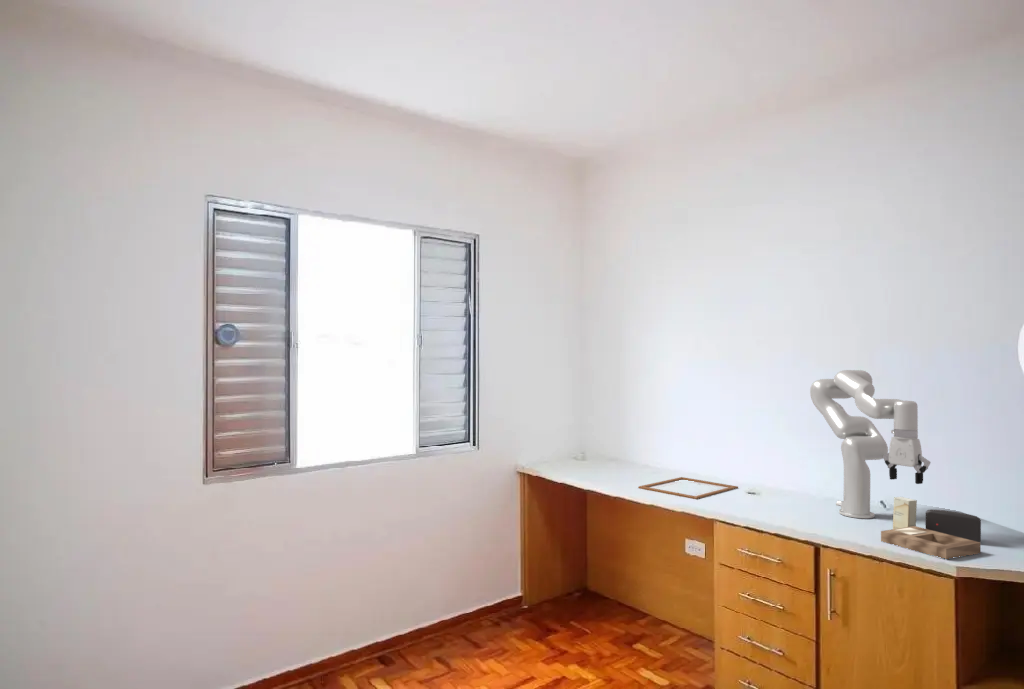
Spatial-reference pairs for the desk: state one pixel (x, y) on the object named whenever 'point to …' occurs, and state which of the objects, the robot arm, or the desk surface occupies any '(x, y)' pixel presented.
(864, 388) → the robot arm
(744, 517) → the desk surface
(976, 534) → the leaning round-cornered charcoal block
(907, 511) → the skincare box
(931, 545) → the walnut stand
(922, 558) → the desk surface
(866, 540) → the desk surface
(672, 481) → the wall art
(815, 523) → the desk surface
